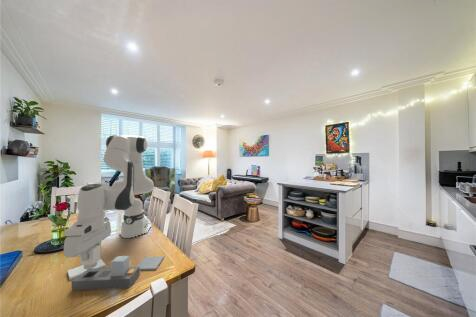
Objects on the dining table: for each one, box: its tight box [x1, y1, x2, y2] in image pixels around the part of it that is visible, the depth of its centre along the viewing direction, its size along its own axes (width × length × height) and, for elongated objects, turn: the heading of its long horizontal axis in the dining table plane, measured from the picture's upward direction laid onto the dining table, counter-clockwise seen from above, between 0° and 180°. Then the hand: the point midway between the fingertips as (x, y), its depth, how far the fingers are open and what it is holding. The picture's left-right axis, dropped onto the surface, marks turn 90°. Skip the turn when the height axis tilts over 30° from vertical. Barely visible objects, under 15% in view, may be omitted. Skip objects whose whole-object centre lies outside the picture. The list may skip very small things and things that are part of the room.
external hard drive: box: [67, 258, 106, 281], centre depth 80 cm, size 2×8×12 cm
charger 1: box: [79, 244, 102, 269], centre depth 72 cm, size 4×5×8 cm
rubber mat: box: [135, 256, 165, 272], centre depth 85 cm, size 10×10×1 cm
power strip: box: [71, 266, 141, 292], centre depth 72 cm, size 8×22×4 cm, turn 94°
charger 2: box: [110, 255, 130, 276], centre depth 72 cm, size 4×5×6 cm
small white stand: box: [86, 181, 110, 217], centre depth 134 cm, size 11×11×35 cm
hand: (90, 256), depth 72 cm, fingers closed on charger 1, 4 cm apart
